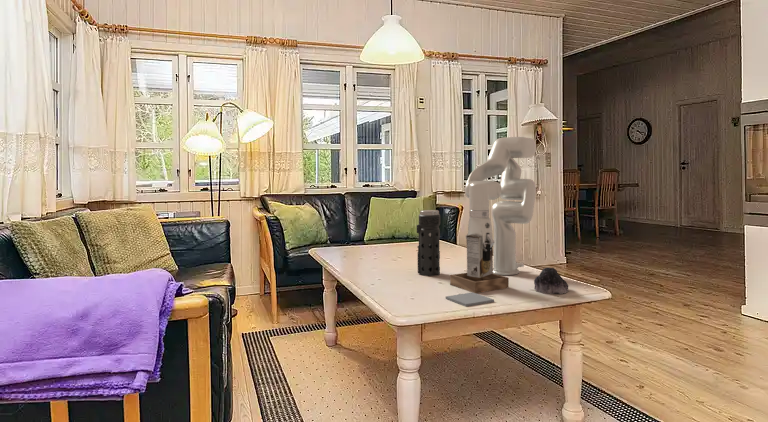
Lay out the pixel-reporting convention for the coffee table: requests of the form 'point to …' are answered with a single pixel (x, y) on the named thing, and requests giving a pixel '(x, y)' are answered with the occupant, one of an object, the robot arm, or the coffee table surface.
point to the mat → (469, 299)
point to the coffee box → (477, 258)
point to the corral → (479, 282)
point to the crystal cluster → (550, 282)
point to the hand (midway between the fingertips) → (479, 258)
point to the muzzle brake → (429, 243)
